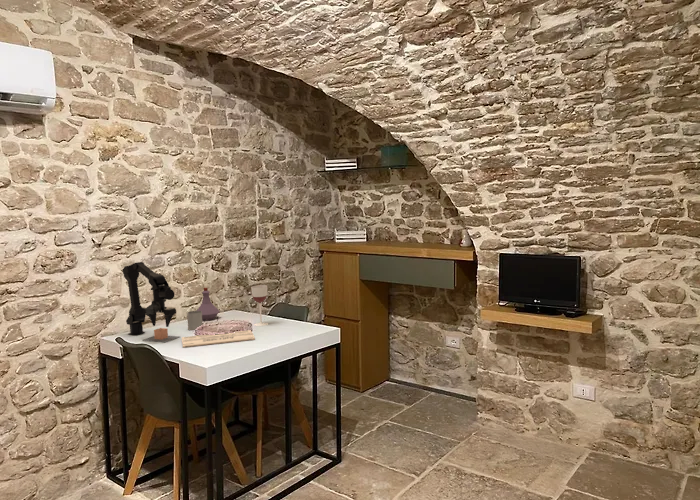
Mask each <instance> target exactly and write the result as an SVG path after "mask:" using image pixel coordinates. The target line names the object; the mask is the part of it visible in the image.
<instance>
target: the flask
mask: <svg viewBox="0 0 700 500" xmlns="http://www.w3.org/2000/svg"><path fill="white" fill-rule="evenodd" d="M210 293H211V291H209V290H208V287H203V291H202V292H201V294H202V300H201V304H200V305H199V307H198V308H197V310H196V311H202V322H203V321H204V322H205V321H213V320H214V319H215V318H216V317H217V315H218V314H219V313H220V312H221V311H220V310H219V309H218V307H216V306H215V305H214V304H213V303H212V301H211V299H210Z"/></svg>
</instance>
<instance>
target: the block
mask: <svg viewBox="0 0 700 500" xmlns="http://www.w3.org/2000/svg"><path fill="white" fill-rule="evenodd" d="M153 336H154V339H160V340H162V339H165V338H168V336H169V331H168V327H166V328H165V327H159V328H157V329H154V330H153Z"/></svg>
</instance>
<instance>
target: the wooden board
mask: <svg viewBox="0 0 700 500" xmlns="http://www.w3.org/2000/svg"><path fill="white" fill-rule="evenodd" d="M234 332H235V333H228V332H224V333H225V334H218V333H214V334H215V335H209V334H201V335H200V334H199V335H191V336H183V337H181V342H182V348H191V347H201V346H202V347H203V346H210V345H220V344H227V343H239V342H246V341H255V340H256V338H255V335H254V333H253V331H252V330H251V329H249V330H248V329H247V330H240V331H239V332H238V331H234Z"/></svg>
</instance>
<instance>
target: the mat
mask: <svg viewBox="0 0 700 500" xmlns="http://www.w3.org/2000/svg"><path fill="white" fill-rule="evenodd" d="M176 339H180V336H175V335H168V338H165V339H162V340H160V339H154V335H152V336H150V337H147V338H143V339H142V341H145V342H156V343H168V342H171V341H173V340H176Z"/></svg>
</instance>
